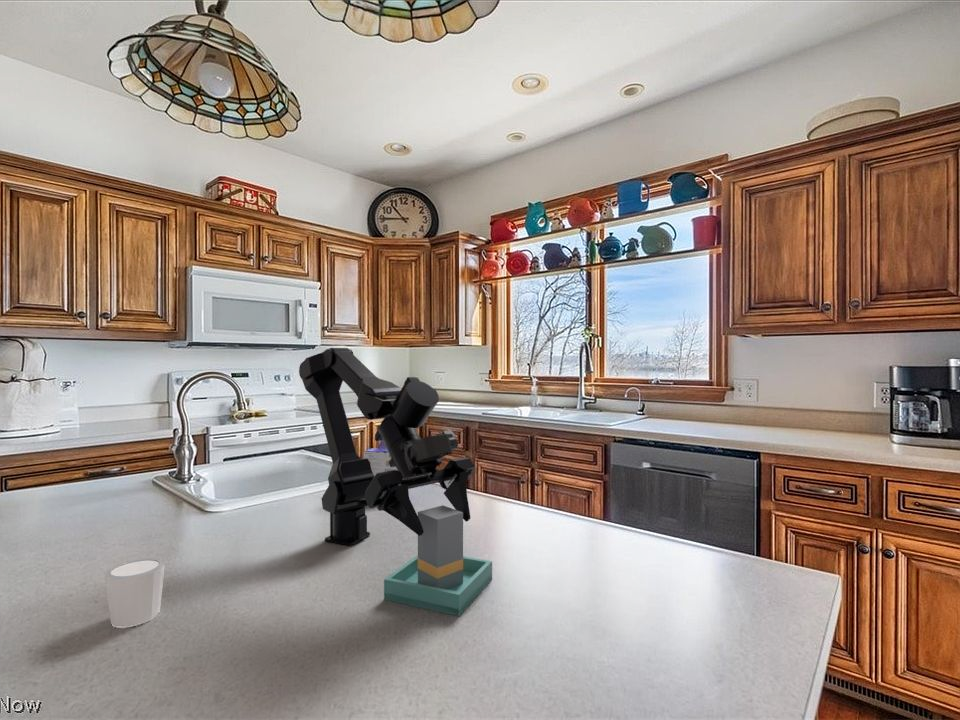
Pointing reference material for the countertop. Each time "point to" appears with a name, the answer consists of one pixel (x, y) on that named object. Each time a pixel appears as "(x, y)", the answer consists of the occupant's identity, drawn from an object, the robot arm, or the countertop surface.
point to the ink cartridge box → (379, 459)
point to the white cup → (135, 591)
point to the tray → (449, 601)
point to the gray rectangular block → (440, 548)
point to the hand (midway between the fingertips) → (446, 526)
